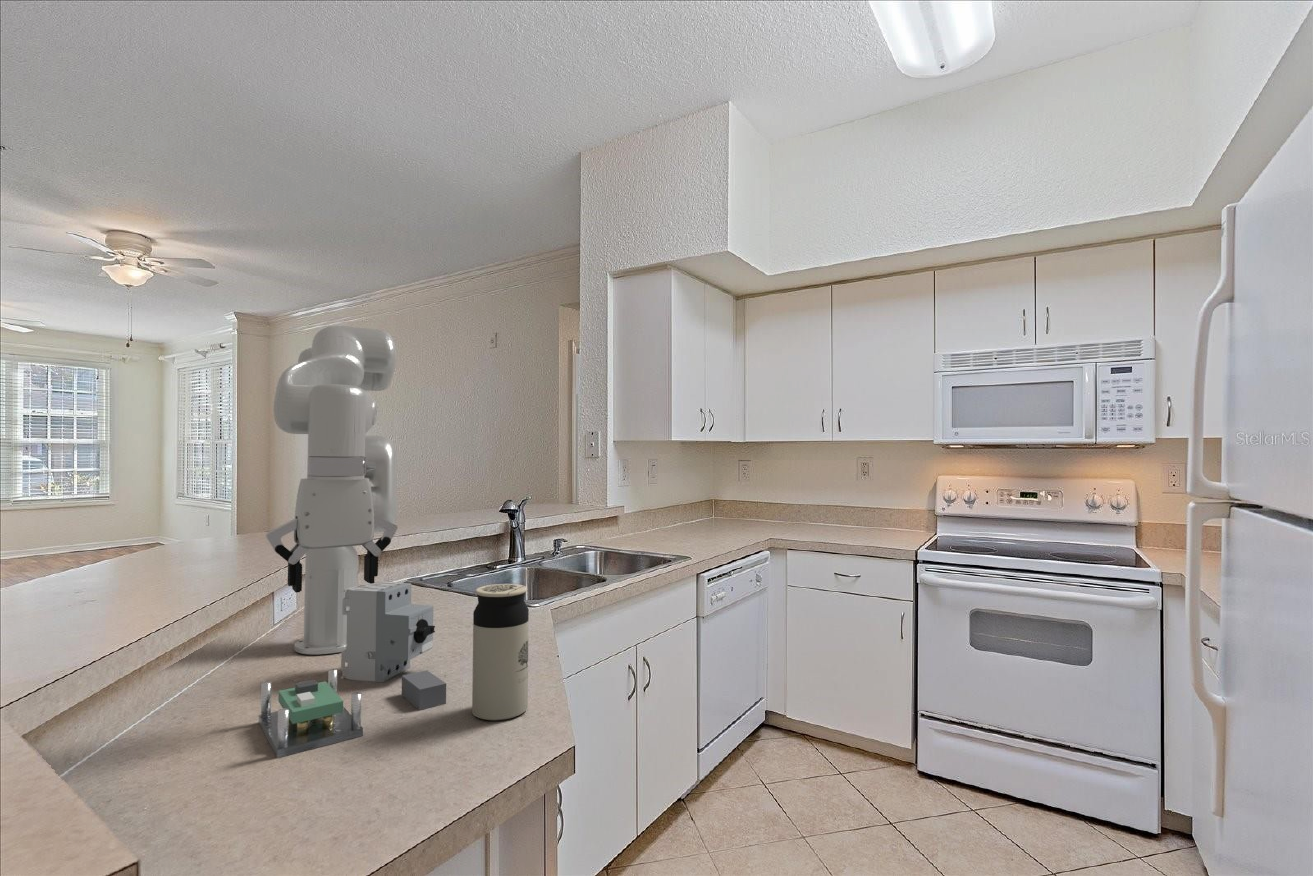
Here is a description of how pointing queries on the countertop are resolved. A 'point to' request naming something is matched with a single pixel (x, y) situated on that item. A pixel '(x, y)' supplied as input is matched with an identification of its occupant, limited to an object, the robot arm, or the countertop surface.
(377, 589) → the circuit breaker
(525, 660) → the travel mug
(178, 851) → the countertop surface
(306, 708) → the board
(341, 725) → the chassis
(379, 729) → the countertop surface
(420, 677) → the block
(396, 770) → the countertop surface
